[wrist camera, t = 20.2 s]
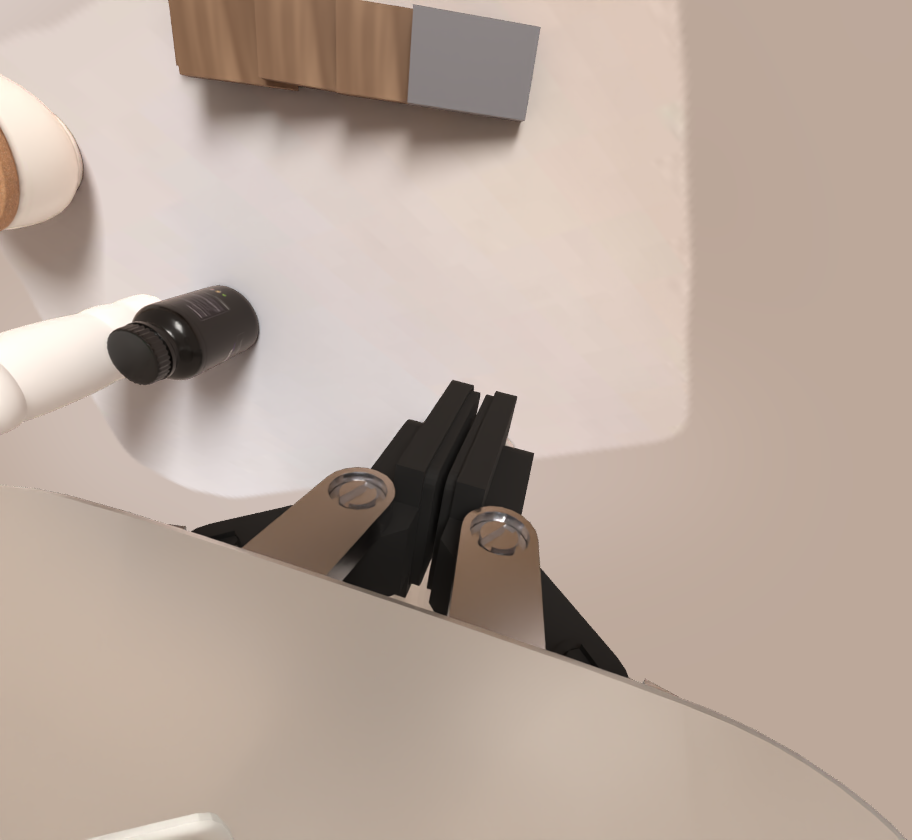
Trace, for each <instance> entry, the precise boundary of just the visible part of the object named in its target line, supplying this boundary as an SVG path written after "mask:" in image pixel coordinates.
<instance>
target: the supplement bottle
mask: <svg viewBox="0 0 912 840" xmlns="http://www.w3.org/2000/svg"><path fill="white" fill-rule="evenodd" d="M258 328H259V327H258V320H257V316H256V313H255V311H254V309H253V307H252V306H251V304H250V303H249V301H248V300H247V299H246V298H245V297H244V296H243V295H242V294H240V293H239V292H237V291H236V290H234V289H232V288H229V287H226V286H220V285H217V286H211V287H207V288H203V289H200V290H196V291H193V292H190V293H186V294H183V295H179V296H176V297H173V298H169V299H166V300H162V301H159V302H155V303H152V304H149V305H147V306H144V307H143V308H141V309H140V310H139V311H138V312H137V313H136V315H135V316H134V318H133V320H132V323H129V324H127V325H125V326H123V327H120V328H117V329H116V330H113V331H112V333H110V334H109V337H108V338H107V340H108V341H107V350H108V354H109V356H110V359H111V361H112V363H113V365H114V366H115V367H116V369H117V370H118V371H119V372H120V373H121V374H122V375H123V376H124V377H125V378H128V379H129V380H130V381H133V382H134V383H138V384H140V385H141V384H143V385H147V384H152V383H154V382H157V381H159V380H162V379H165V378H169V379H173V380H186V379H190V378H193V377H195V376H197V375H199V374H201V373H203V372H205V371H207V370H209V369H211V368H213V367H214V366H216V365H218V364H220V363H222V362H224V361H226V360H228V359H230V358H232V357H234V356H236V355H238V354H240V353H242V352H244V351H245V350H247V349H249V348H250V347H251V346H252V345H253V344H254V342H255V341H256V339H257V336H258Z"/></svg>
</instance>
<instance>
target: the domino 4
mask: <svg viewBox="0 0 912 840" xmlns="http://www.w3.org/2000/svg"><path fill="white" fill-rule="evenodd" d="M539 33H540V27H537V26H532V25H526V24H520V23H515V22H509V21H504V20H498V19H492V18H487V17H481V16H476V15H470V14H464V13H459V12H453V11H448V10H442V9H436V8H431V7H425V6H420V5H414V4H413V19H412V35H411V52H410V68H409V84H408V101H407V103H408V104H409V105H416V106H422V107H429V108H435V109H442V110H448V111H454V112H461V113H467V114H474V115H480V116H487V117H493V118H500V119H506V120H513V121H519V122H522V121H525V116H526V110H527V105H528V99H529V93H530V87H531V81H532V75H533V69H534V63H535V57H536V51H537V45H538V39H539Z"/></svg>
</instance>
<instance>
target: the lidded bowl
mask: <svg viewBox="0 0 912 840" xmlns="http://www.w3.org/2000/svg"><path fill="white" fill-rule="evenodd" d="M82 177H83V163H82V158H81V154H80V151H79V148H78V145H77V143H76V141H75V139H74V137H73V135H72V134H71V132H70V131H69V129H68V128H67V126H66V125H65V124H64V123H63V122H62V121H61V120H60V119H59V118H58V117H57V116H56V115H55V114H54V113H52V112H51V111H50V110H49V109H48V108H47V107H46V106H45V105H44V104H43V103H42V102H41V101H40V100H39V99H38V98H37V97H36V96H34V95H33V94H32V93H30V92H29V91H28V90H26V89H25V88H23V87H22V86H21V85H19V84H17V83H16V82H14V81H12V80H10V79H8V78H6V77H5V76H3V75H1V74H0V231H2V230H11V229H18V228H23V227H27V226H31V225H35V224H38V223H42V222H44V221H47V220H49V219H51V218H53V217H55V216H56V215H58V214H59V213H61V212H62V211H63V210H64V209H65V208H66V207H67V206H68V205H69V204H70V202H71V201H72V199H73V197H74V195H75V193H76V190H77V188H78V187H79V186H80V184H81V181H82Z"/></svg>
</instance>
